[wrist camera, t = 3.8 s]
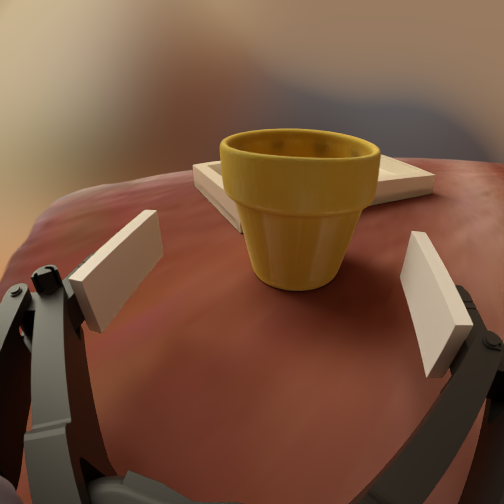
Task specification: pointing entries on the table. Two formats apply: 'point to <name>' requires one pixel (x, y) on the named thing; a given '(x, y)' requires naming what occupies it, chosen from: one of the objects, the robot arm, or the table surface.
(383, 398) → the table surface
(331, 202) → the plant pot
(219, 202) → the divided tray
